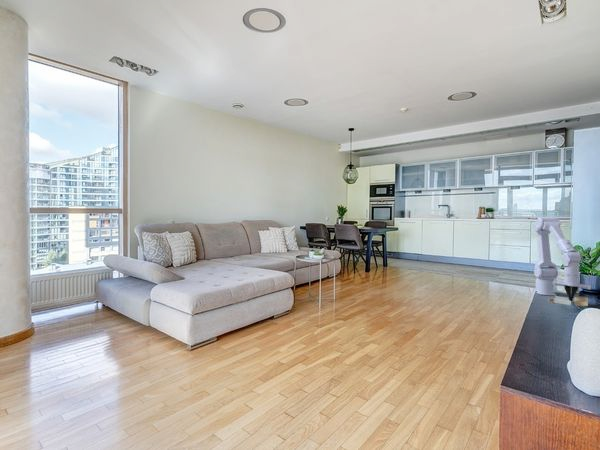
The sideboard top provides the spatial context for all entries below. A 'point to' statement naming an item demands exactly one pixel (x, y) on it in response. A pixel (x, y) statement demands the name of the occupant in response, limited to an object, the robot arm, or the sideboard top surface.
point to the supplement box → (561, 279)
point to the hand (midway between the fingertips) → (570, 300)
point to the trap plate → (551, 300)
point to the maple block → (580, 301)
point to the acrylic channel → (562, 300)
